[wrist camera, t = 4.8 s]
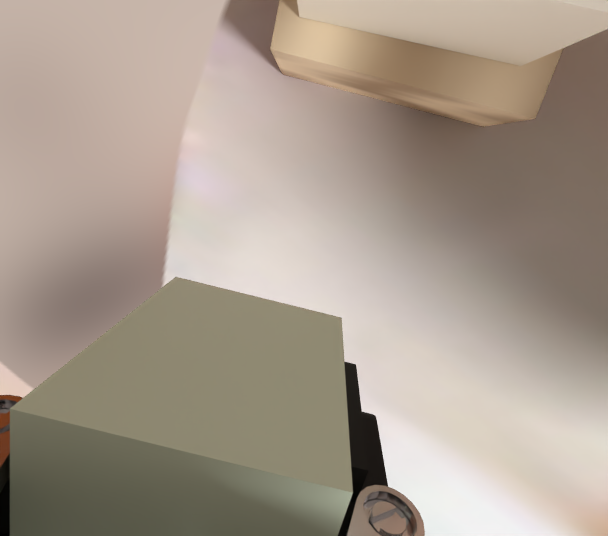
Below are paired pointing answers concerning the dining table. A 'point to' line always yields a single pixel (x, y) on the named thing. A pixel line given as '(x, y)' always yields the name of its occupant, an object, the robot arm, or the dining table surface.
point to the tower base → (409, 71)
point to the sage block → (189, 425)
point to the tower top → (471, 23)
